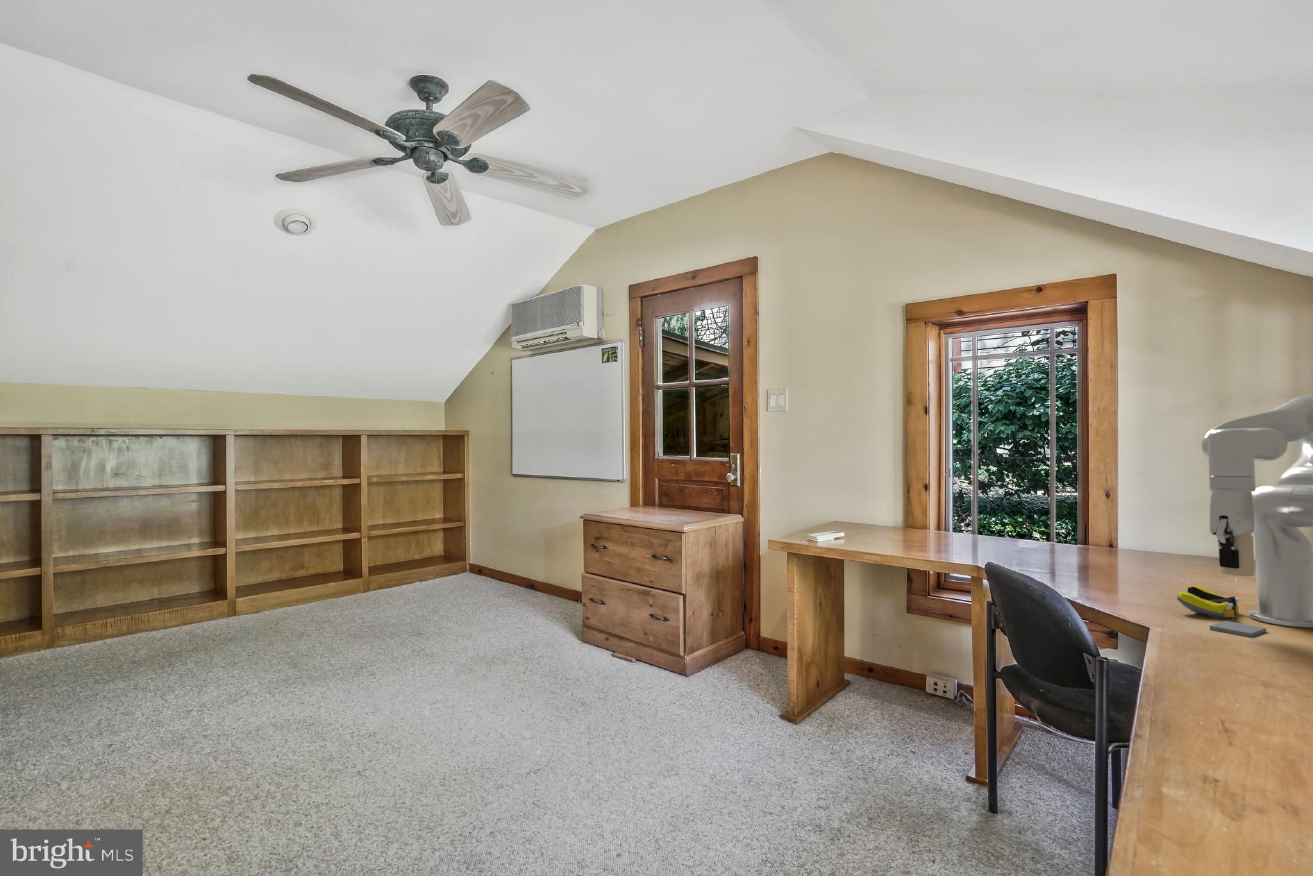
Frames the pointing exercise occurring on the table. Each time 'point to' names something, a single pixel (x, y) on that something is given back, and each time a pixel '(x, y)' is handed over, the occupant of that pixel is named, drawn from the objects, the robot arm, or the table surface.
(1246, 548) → the candle
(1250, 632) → the grey flat block
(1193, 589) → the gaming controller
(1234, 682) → the table surface
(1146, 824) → the table surface
